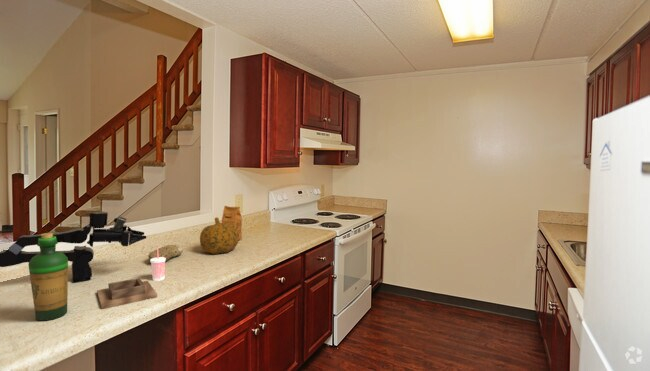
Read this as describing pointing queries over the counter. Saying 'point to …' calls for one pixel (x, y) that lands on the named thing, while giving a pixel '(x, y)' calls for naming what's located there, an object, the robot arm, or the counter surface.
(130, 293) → the cup holder
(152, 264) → the beverage cup
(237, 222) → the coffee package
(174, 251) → the tan rounded lump
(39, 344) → the counter surface
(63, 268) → the bottle
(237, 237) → the decorative pumpkin
